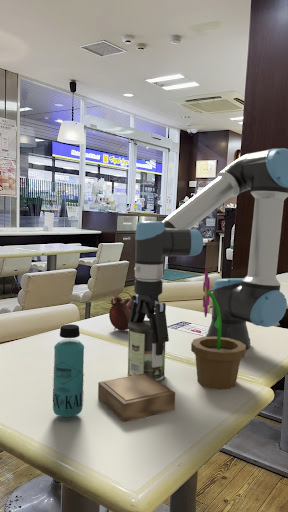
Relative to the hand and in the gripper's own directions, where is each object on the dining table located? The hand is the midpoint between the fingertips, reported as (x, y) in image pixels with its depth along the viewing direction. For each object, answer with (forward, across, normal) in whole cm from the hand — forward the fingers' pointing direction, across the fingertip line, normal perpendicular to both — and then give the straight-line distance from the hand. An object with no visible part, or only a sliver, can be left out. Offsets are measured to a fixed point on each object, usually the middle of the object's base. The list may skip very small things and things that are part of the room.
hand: (146, 360), depth 115 cm
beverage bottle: (+4, +13, -27) cm, 30 cm away
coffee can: (+5, 0, 0) cm, 5 cm away
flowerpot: (+5, +12, +15) cm, 20 cm away
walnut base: (+4, +14, -11) cm, 18 cm away
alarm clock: (+5, -42, +15) cm, 45 cm away
